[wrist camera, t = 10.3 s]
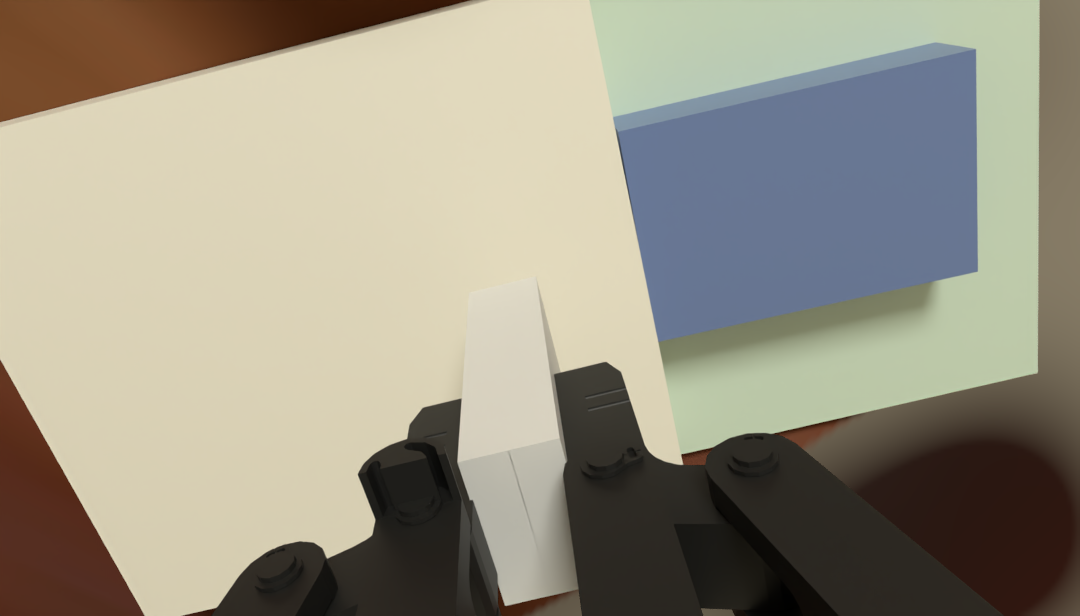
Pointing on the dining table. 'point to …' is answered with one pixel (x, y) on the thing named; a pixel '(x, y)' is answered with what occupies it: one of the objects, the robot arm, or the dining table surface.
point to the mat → (876, 320)
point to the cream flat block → (306, 273)
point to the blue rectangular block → (805, 188)
